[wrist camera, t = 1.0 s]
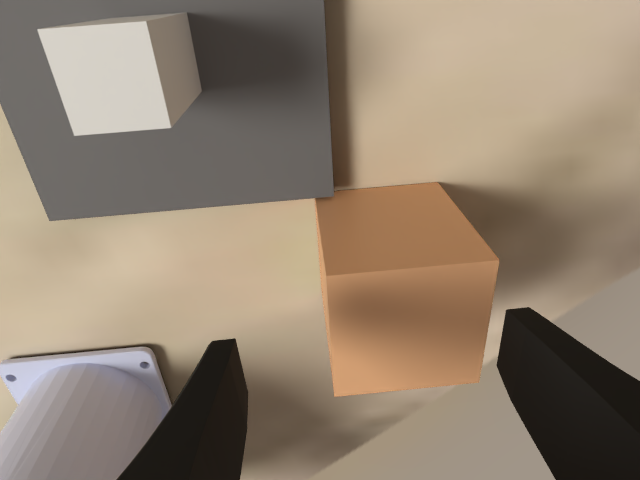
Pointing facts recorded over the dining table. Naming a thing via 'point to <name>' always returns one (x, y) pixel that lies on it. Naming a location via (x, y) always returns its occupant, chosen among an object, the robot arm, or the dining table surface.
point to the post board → (209, 135)
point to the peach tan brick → (402, 289)
